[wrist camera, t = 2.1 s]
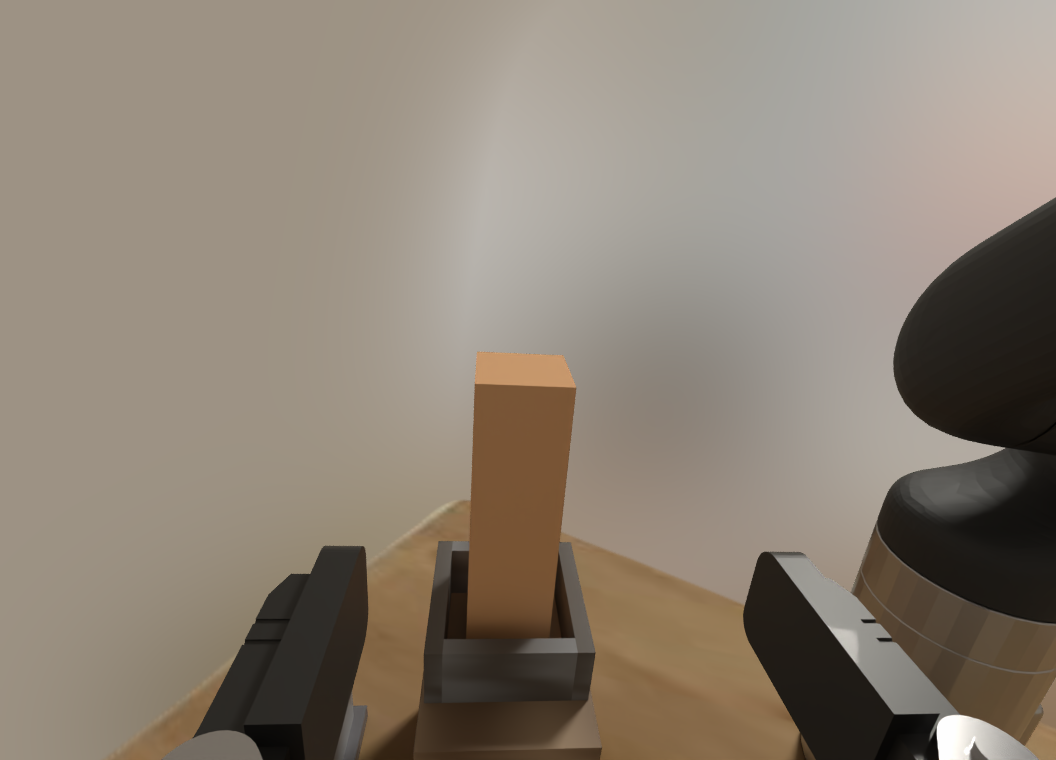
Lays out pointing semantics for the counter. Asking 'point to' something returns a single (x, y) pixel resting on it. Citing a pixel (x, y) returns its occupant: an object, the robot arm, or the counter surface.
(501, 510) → the plug
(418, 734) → the square socket base
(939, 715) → the robot arm
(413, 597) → the counter surface
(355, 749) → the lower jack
